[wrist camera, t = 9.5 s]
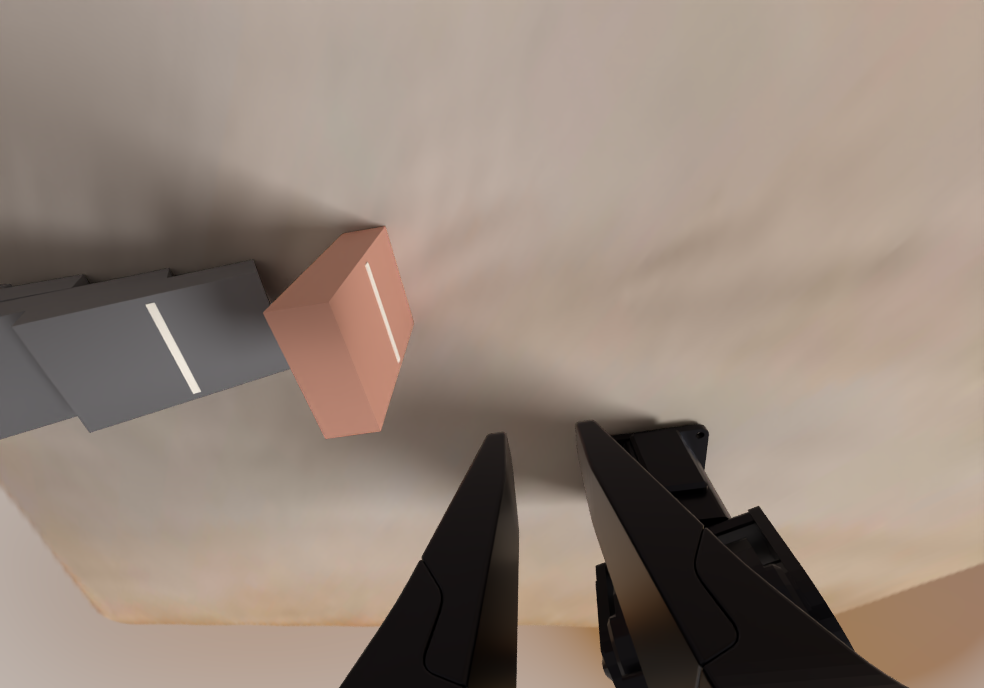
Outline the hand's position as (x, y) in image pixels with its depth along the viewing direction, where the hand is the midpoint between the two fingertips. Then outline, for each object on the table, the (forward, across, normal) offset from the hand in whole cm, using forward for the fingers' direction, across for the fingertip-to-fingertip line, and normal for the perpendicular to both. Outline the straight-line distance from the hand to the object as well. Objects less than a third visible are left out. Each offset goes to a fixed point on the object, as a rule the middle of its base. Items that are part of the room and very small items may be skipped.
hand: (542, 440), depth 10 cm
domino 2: (+11, +12, 0) cm, 16 cm away
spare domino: (+12, +6, 0) cm, 14 cm away
